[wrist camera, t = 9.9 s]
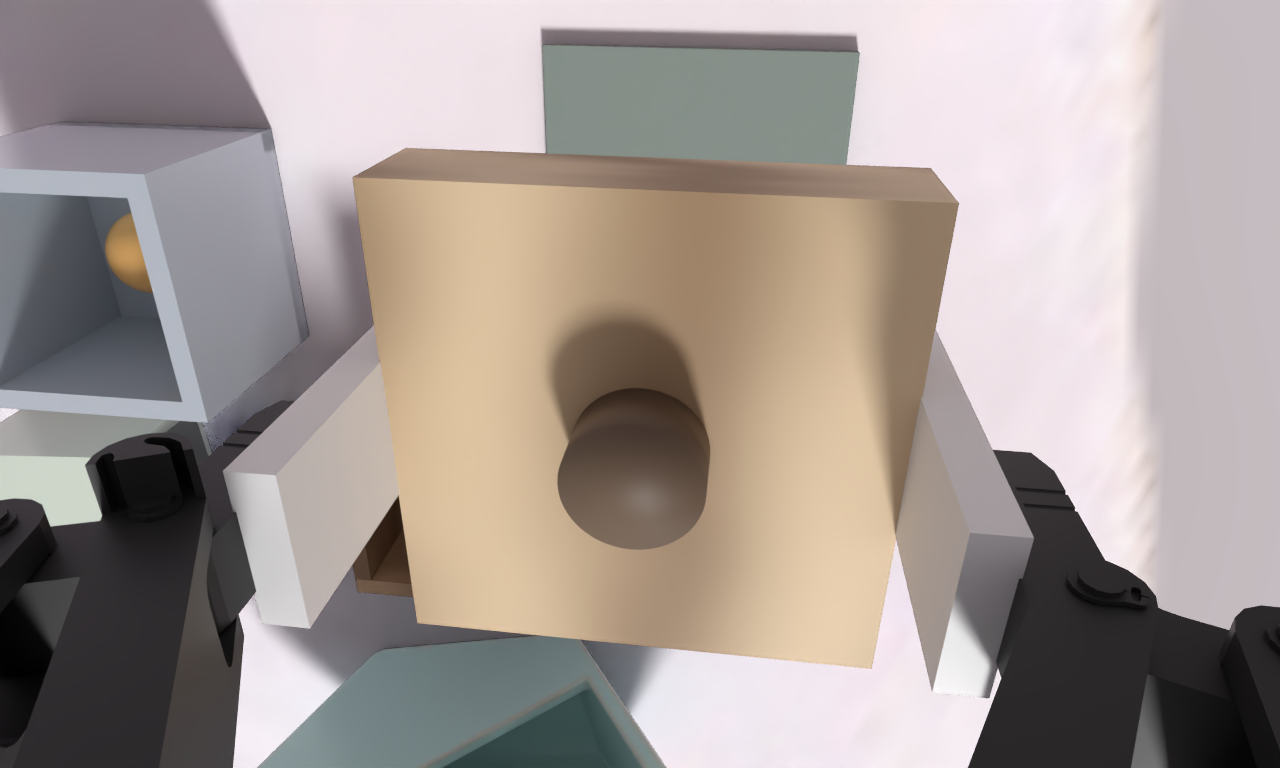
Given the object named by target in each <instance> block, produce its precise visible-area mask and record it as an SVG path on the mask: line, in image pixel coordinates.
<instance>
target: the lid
mask: <svg viewBox="0 0 1280 768" xmlns="http://www.w3.org/2000/svg"><path fill="white" fill-rule="evenodd" d="M352 178H353V185H354V191H355V198H356V205H357V212H358V219H359V226H360V233H361V240H362V246H363V253H364V260H365V267H366V274H367V281H368V288H369V295H370V301H371V308H372V315H373V322H374V329H375V336H376V343H377V349H378V356H379V362H381V368H382V375H383V382H384V389H385V395H386V402H387V409H388V416H389V423H390V430H391V437H392V444H393V451H394V458H395V465H396V471H397V478H398V485H399V492H400V494H399V501H400V507H401V514H402V521H403V528H404V535H405V542H406V549H407V556H408V562H409V569H410V576H411V583H412V590H413V597H414V604H415V610H416V617H417V623H421V624H431V625H441V626H451V627H461V628H471V629H481V630H491V631H501V632H511V633H521V634H531V635H541V636H551V637H561V638H571V639H581V640H590V641H600V642H610V643H620V644H630V645H640V646H650V647H660V648H670V649H680V650H690V651H700V652H710V653H720V654H730V655H740V656H750V657H760V658H770V659H779V660H789V661H799V662H809V663H819V664H829V665H839V666H849V667H859V668H869V669H872V664H873V659H874V654H875V648H876V643H877V638H878V632H879V627H880V622H881V616H882V611H883V606H884V600H885V595H886V590H887V584H888V579H889V574H890V568H891V563H892V558H893V552H894V547H895V542H896V536H895V534H896V528H897V523H898V518H899V512H900V507H901V502H902V496H903V491H904V485H905V480H906V475H907V469H908V464H909V459H910V453H911V448H912V442H913V437H914V432H915V426H916V421H917V416H918V410H919V405H920V399H921V398H922V397H923V392H924V387H925V381H926V376H927V371H928V365H929V360H930V355H931V349H932V344H933V339H934V333H935V328H936V323H937V317H938V312H939V307H940V301H941V296H942V291H943V285H944V280H945V275H946V269H947V264H948V259H949V253H950V248H951V243H952V237H953V232H954V227H955V221H956V216H957V211H958V205H959V203H958V201H957V200H956V199H955V198H954V196H953V195H952V194H951V193H950V191H949V190H948V189H947V188H946V187H945V185H944V184H943V183H942V182H941V180H940V179H939V178H938V177H937V175H936V174H935V173H934V172H933V170H932V169H931V168H912V167H886V166H860V165H834V164H808V163H782V162H756V161H730V160H703V159H677V158H651V157H625V156H599V155H573V154H547V153H521V152H495V151H469V150H443V149H417V148H405V149H403V150H401V151H400V152H398V153H396V154H394V155H392V156H390V157H389V158H387V159H385V160H383V161H381V162H380V163H378V164H376V165H374V166H372V167H370V168H369V169H367V170H365V171H363V172H361V173H359V174H358V175H356V176H354V177H352Z"/></svg>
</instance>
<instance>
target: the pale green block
mask: <svg viewBox="0 0 1280 768" xmlns="http://www.w3.org/2000/svg"><path fill="white" fill-rule="evenodd" d="M165 432H167V433H173V434H180V435H183V436H184V437H186V438H188V439H189V440H191V442H192V446H193V449H194V453H195V457H196V460H197V464H198V466H199V465H200V464H201V463H202V462H203V461H204V460H205V459H206V458H207V457H208V456H209V455H211V454H212V451H211V448H210V445H209V442H208V439H207V436H206V433H205V430H204V427H203V424H202V422H190V421H176V420H163V419H149V418H135V417H121V416H108V415H94V414H80V413H66V412H52V411H39V410H25V409H21V410H19V411H18V412H16V413H15V414H13V415H11V416H10V417H8V418H6V419H5V420H3V421H2V422H0V500H6V499H13V498H18V499H32V500H34V501H36V502H38V503H40V504H42V505H43V508H44V511H45V513H46V516H47V519H48V521H49V524H50V526H59V525H68V524H77V523H86V522H94V521H100V520H101V517H102V514H101V511H100V508H99V505H98V502H97V499H96V496H95V493H94V491H93V488H92V485H91V482H90V479H89V476H88V473H87V470H86V467H85V464H86V463H87V462H88V461H89V459H90V458H91V457H92V456H93V455H94V454H96V453H97V452H99V451H100V450H102V449H103V448H105V447H107V446H108V445H111V444H113V443H116V442H118V441H121V440H124V439H126V438H130V437H134V436H139V435H143V434H149V433H165Z"/></svg>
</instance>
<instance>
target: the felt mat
mask: <svg viewBox="0 0 1280 768" xmlns="http://www.w3.org/2000/svg"><path fill="white" fill-rule="evenodd" d="M859 56H860V53H859V52H856V51H813V50H771V49H729V48H686V47H644V46H602V45H559V44H544V45H543V71H544V97H545V122H546V148H547V154H573V155H599V156H625V157H651V158H677V159H703V160H730V161H756V162H782V163H808V164H834V165H846V162H847V154H848V146H849V137H850V129H851V121H852V113H853V105H854V96H855V88H856V80H857V72H858V64H859Z"/></svg>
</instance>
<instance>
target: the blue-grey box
mask: <svg viewBox="0 0 1280 768" xmlns="http://www.w3.org/2000/svg"><path fill="white" fill-rule="evenodd" d="M308 337H309V332H308V327H307V321H306V316H305V311H304V305H303V300H302V294H301V289H300V283H299V278H298V273H297V267H296V262H295V256H294V251H293V245H292V240H291V234H290V229H289V224H288V218H287V213H286V207H285V202H284V196H283V191H282V186H281V180H280V175H279V169H278V164H277V158H276V153H275V147H274V142H273V137H272V131H271V129H263V128H234V127H206V126H177V125H149V124H120V123H92V122H63V121H62V122H58V123H54V124H49V125H45V126H41V127H37V128H33V129H28V130H24V131H20V132H16V133H12V134H7V135H3V136H0V408H11V409H25V410H39V411H52V412H66V413H80V414H94V415H108V416H121V417H135V418H149V419H163V420H176V421H190V422H204V423H208V422H209V421H211V420H212V419H213V418H214V417H215V416H216V415H218V414H219V413H220V412H221V411H222V410H223V409H225V408H226V407H227V406H228V405H229V404H230V403H232V402H233V401H234V400H235V399H236V398H238V397H239V396H240V395H241V394H242V393H243V392H245V391H246V390H247V389H248V388H249V387H250V386H252V385H253V384H254V383H255V382H256V381H257V380H259V379H260V378H261V377H262V376H263V375H264V374H266V373H267V372H268V371H269V370H270V369H271V368H273V367H274V366H275V365H276V364H277V363H278V362H280V361H281V360H282V359H283V358H284V357H285V356H287V355H288V354H289V353H290V352H291V351H292V350H294V349H295V348H296V347H297V346H298V345H299V344H301V343H302V342H303V341H304V340H305V339H306V338H308Z"/></svg>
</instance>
